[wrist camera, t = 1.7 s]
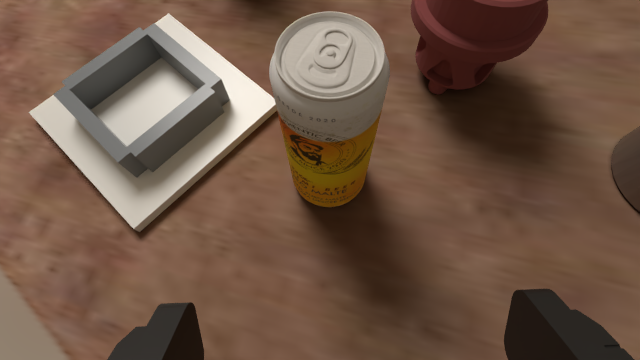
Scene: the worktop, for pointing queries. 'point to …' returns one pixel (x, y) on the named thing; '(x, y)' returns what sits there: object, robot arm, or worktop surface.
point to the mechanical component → (472, 37)
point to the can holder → (153, 117)
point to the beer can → (329, 102)
